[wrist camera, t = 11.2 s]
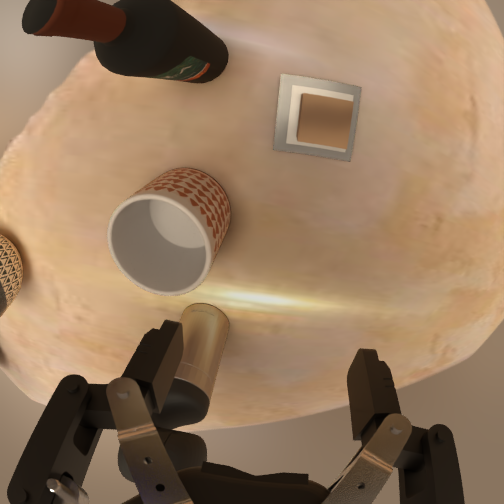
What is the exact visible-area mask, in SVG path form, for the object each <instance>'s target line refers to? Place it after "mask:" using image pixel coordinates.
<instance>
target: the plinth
mask: <svg viewBox="0 0 504 504" xmlns="http://www.w3.org/2000/svg"><path fill="white" fill-rule="evenodd" d="M302 93H308V94H314V95H321V96H327V97H332V98H338V99H343V100H348V101H353V102H354V104H353V112H352V119H351V126H350V133H349V139H348V145H347V149H342V148H336V147H330V146H324V145H318V144H312V143H305V142H298V141H297V137H296V134H297V126H298V117H299V109H300V100H301V94H302ZM360 95H361V87H358V86H354V85H349V84H344V83H339V82H334V81H329V80H323V79H317V78H310V77H304V76H296V75H289V74H281V79H280V89H279V99H278V108H277V117H276V127H275V136H274V145H273V150H277V151H285V152H293V153H300V154H307V155H313V156H320V157H326V158H332V159H337V160H343V161H348V162H350V161H351V155H352V149H353V143H354V137H355V131H356V124H357V117H358V110H359V103H360Z"/></svg>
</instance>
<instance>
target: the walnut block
mask: <svg viewBox="0 0 504 504" xmlns="http://www.w3.org/2000/svg"><path fill="white" fill-rule="evenodd" d="M353 104H354V102H353V101H348V100H343V99H338V98H332V97H327V96H321V95H314V94H308V93H302V94H301V100H300V109H299V117H298V126H297V134H296V137H297V141H298V142H305V143H312V144H318V145H324V146H330V147H336V148H342V149H347V145H348V139H349V133H350V126H351V119H352V112H353Z"/></svg>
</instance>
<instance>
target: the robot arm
mask: <svg viewBox="0 0 504 504" xmlns="http://www.w3.org/2000/svg"><path fill="white" fill-rule="evenodd" d="M228 330H229V322H228V319H227V317H226V316H225V315H224V313H222V312H221V311H220V310H219V309H217V308H215V307H213V306H211V305H207V304H193V305H190V306H189V307H187V308H186V309H185V310H184V312H183V314H182V316H181V318H180V320H179V322H175V321H170V320H165V321H164V322H163V324H162V326H161V328H160V330H158V329H154V328H153V329H151V330H150V331H149V332H147V333H146V334H145V335H144V337H143V338H142V340H141V342H140V345H138V347H137V349H136V351H135V353H134V354H133V356H132V358H131V360H130V362H129V364H128V365H127V367H126V369H125V371H124V373H123V374H122V376H121V377H120V378H116V379H114V380H112V381H111V382H110V383H109V384H88V383H87V381H86V379H85V378H84V377H82V376H80V375H75V374H73V375H68V376H66V377H64V378H63V379H62V380H61V381H60V383H59V385H58V386H57V388H56V390H55V392H54V393H53V395H52V397H51V399H50V401H49V403H48V404H47V406H46V408H45V410H44V412H43V414H42V416H41V417H40V419H39V421H38V424H37V425H36V427H35V429H34V431H33V433H32V435H31V437H30V439H29V441H28V443H27V445H26V447H25V450H24V452H23V454H22V456H21V458H20V460H19V463H18V465H17V467H16V470H15V472H14V474H13V476H12V479H11V481H10V483H9V486H8V489H7V496H8V499H9V502H10V504H89V497H88V495H87V493H86V492H85V490H84V489H83V488H81V487H82V483H83V481H84V478H85V475H86V472H87V470H88V467H89V464H90V462H91V459H92V456H93V454H94V451H95V448H96V446H97V443H98V441H99V438H100V435H101V433H102V431H103V429H116V430H117V432H118V440H119V443H120V447H119V453H118V466H119V470H120V472H121V474H122V475H123V476H124V477H125V478H126V479H127V480H129V481H131V482H134V483H135V485H136V487H137V490H138V492H139V494H138V495H137V496H135V497H133V498H131V499H130V500H127V501H126V502H124V503H122V504H372V502H373V501H374V499H375V498H376V497H377V495H378V494H379V492H380V491H381V489H382V488H383V486H384V485H385V483H386V481H387V480H388V478H389V477H390V475H391V474H392V472H393V469H392V467H396V468H398V472H399V490H400V504H465V503H464V495H463V487H462V480H461V474H460V468H459V463H458V457H457V453H456V447H455V443H454V438H453V434H452V432H451V430H450V429H449V428H448V427H447V426H445V425H442V424H436V425H434V426H432V427H431V428H430V429H429V430H428V429H423V428H419V427H415V426H412V425H411V422H410V421H409V420H408V418H406V417H405V416H404V415H402V414H401V411H400V406H399V402H398V398H397V394H396V389H395V388H394V382H393V380H392V379H393V378H392V374H391V370H390V368H389V367H388V366H387V364H386V363H385V362H384V361H379V359H378V355H377V351H376V350H375V349H361V348H360V349H359V350H358V352H357V354H356V356H355V358H354V360H353V362H352V364H351V366H350V368H349V371H348V375H347V387H348V395H349V403H350V412H351V421H352V431H353V440H361V442H362V446H361V447H360V448H359V450H358V451H357V453H356V454H355V455H354V456H353V458H352V459H351V461H350V462H349V463H348V464H347V465H346V467H345V468H344V469H343V470H342V472H341V473H340V474H339V475H338V476H337V478H335V480H334V481H333V482H332V483H331V484H330V485H329V486H328V487H327V488H325V487H324V486H322V485H320V484H318V483H316V482H314V481H311V480H308V474H297V473H276V474H269V475H260V476H254V475H251V474H249V473H246V472H243V471H240V470H238V469H235V468H233V467H230V466H226V465H220V464H214V463H210V462H206V461H207V449H206V444H205V442H204V440H203V439H202V438H201V437H199V436H198V435H195V434H191V433H186V432H181V431H176V430H172V429H174V428H177V427H180V426H185V425H190V424H195V423H198V422H200V421H202V420H203V419H204V418H205V416H206V414H207V412H208V408H209V404H210V400H211V396H212V392H213V388H214V384H215V380H216V376H217V372H218V368H219V364H220V361H221V357H222V353H223V349H224V345H225V342H226V338H227V334H228Z"/></svg>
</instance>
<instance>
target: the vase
mask: <svg viewBox="0 0 504 504" xmlns="http://www.w3.org/2000/svg"><path fill="white" fill-rule="evenodd" d="M230 217H231V212H230V205H229V201H228V198H227V196H226V194H225V192H224V190H223V189H222V188H221V186H220V185H219V184H218V183H217V182H216V181H215V180H214V179H213V178H211V177H210V176H209V175H207V174H205V173H203V172H201V171H198V170H195V169H190V168H178V169H173V170H170V171H168V172H166V173H164V174H162V175H161V176H159V177H158V178H156V179H155V180H153V181H152V182H150V183H149V184H147V185H146V186H144V187H143V188H141V189H140V190H139V191H137V192H136V193H134V194H133V195H131V196H130V197H129V198H127V199H126V200H124V201H123V202H122V203H121V204H120V205H119V206H118V207H117V208H116V209H115V211H114V212H113V214H112V216H111V218H110V221H109V224H108V229H107V241H108V246H109V250H110V253H111V256H112V258H113V260H114V262H115V263H116V265H117V267H118V268H119V269H120V271H121V272H122V273H123V274H124V275H125V276H126V277H127V278H128V279H129V280H130V281H131V282H133V283H134V284H135V285H137V286H138V287H140V288H142V289H144V290H146V291H148V292H151V293H154V294H157V295H163V296H177V295H182V294H186V293H188V292H190V291H192V290H194V289H195V288H197V287H198V286H199V285H200V284H201V283H202V282H203V281H204V280H205V278H206V276H207V275H208V273H209V270H210V268H211V266H212V264H213V261H214V259H215V257H216V255H217V252H218V250H219V248H220V246H221V243H222V241H223V239H224V237H225V234H226V232H227V230H228V227H229V224H230Z"/></svg>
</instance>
